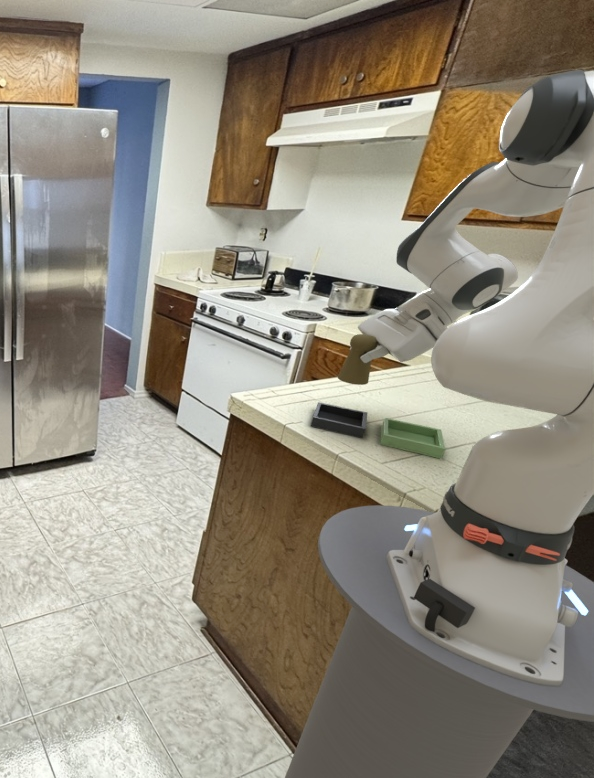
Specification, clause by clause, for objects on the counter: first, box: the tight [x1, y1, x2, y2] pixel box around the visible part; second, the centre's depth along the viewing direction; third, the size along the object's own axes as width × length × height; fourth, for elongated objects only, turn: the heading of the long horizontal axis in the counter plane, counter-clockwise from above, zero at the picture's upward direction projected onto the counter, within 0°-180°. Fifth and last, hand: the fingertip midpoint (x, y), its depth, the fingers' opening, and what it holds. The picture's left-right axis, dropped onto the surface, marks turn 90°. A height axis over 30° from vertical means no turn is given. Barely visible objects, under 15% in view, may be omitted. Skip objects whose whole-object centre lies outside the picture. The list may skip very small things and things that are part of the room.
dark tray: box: [310, 402, 368, 439], centre depth 116 cm, size 11×11×2 cm
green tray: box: [380, 417, 446, 459], centre depth 108 cm, size 11×11×2 cm
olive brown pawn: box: [337, 333, 378, 386], centre depth 109 cm, size 6×6×11 cm
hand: (356, 356), depth 109 cm, fingers closed on olive brown pawn, 4 cm apart
